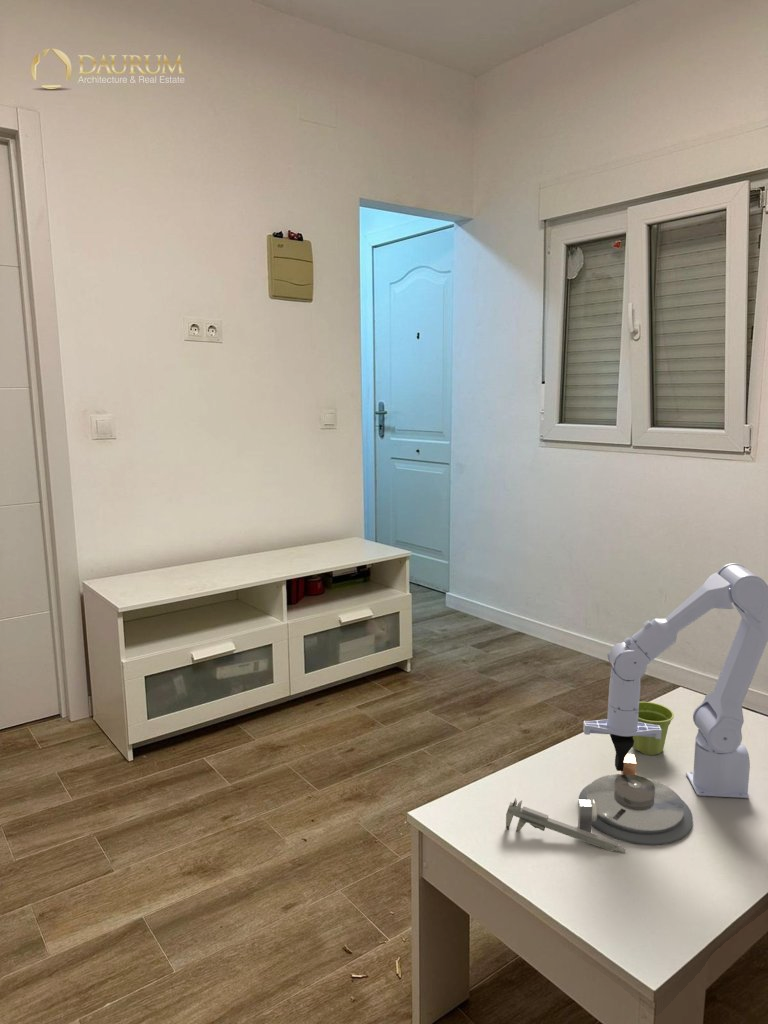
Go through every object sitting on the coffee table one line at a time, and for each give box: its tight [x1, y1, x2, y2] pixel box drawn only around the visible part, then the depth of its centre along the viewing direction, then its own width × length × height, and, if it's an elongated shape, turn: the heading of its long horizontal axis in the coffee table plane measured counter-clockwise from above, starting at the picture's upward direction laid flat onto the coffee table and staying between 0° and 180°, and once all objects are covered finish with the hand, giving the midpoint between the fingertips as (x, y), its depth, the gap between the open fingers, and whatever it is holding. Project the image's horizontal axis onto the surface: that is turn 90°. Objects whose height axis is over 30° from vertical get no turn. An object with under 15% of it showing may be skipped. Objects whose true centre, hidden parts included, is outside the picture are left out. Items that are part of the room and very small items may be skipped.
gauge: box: [577, 799, 597, 833], centre depth 129 cm, size 3×4×6 cm
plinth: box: [577, 783, 694, 846], centre depth 135 cm, size 20×20×1 cm
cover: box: [614, 774, 655, 810], centre depth 134 cm, size 7×7×3 cm
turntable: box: [587, 753, 684, 834], centre depth 135 cm, size 17×20×4 cm
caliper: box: [505, 797, 627, 854], centre depth 127 cm, size 20×1×6 cm, turn 70°
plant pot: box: [632, 701, 675, 756], centre depth 157 cm, size 9×9×9 cm
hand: (619, 768), depth 144 cm, fingers closed, pressing on turntable
